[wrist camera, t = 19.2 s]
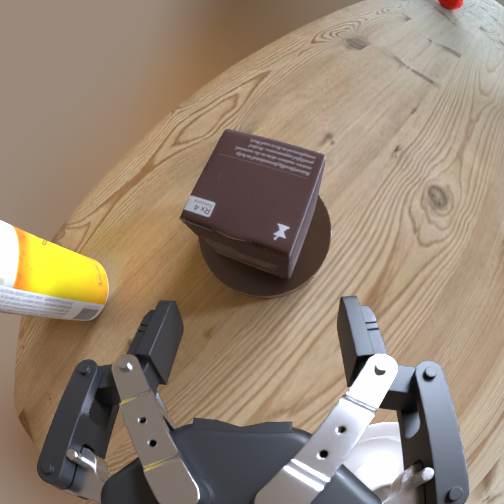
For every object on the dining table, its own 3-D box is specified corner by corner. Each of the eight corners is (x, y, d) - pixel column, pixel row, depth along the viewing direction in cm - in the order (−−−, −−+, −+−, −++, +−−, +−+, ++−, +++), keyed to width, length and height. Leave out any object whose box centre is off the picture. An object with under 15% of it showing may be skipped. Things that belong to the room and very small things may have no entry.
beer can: (94, 248, 25) (-23, 190, 10) (123, 293, 23) (-14, 255, 9) (62, 288, 24) (-54, 255, 10) (87, 333, 23) (-43, 324, 8)
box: (317, 207, 21) (330, 154, 14) (289, 282, 20) (291, 260, 12) (243, 183, 22) (224, 125, 15) (211, 252, 21) (175, 217, 14)
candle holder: (274, 475, 18) (272, 501, 14) (388, 393, 19) (409, 406, 15) (346, 532, 15) (352, 556, 11) (443, 461, 16) (463, 478, 11)
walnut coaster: (206, 299, 22) (196, 296, 20) (209, 187, 25) (202, 174, 22) (330, 296, 21) (336, 293, 19) (320, 181, 24) (324, 167, 21)
